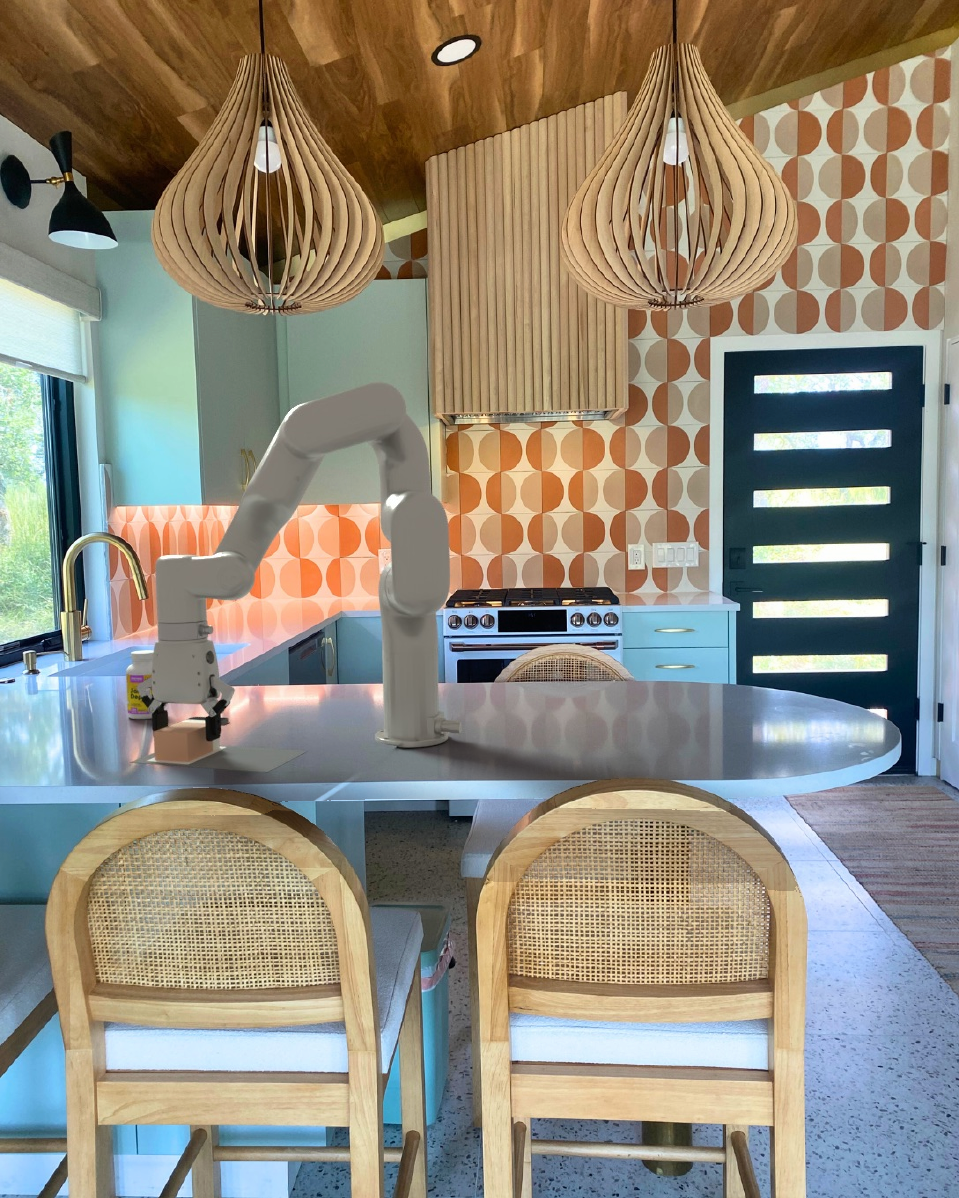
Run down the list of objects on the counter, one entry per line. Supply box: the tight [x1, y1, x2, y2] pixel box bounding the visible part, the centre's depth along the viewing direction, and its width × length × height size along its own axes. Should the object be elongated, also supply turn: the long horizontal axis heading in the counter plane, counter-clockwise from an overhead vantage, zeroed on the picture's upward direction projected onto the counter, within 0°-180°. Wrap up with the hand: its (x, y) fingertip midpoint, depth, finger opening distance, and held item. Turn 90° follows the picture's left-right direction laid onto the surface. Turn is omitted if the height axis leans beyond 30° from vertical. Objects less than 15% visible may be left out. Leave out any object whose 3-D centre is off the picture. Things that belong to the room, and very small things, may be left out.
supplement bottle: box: [125, 649, 154, 720], centre depth 180 cm, size 7×7×13 cm
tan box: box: [153, 718, 221, 762], centre depth 148 cm, size 9×6×4 cm, turn 164°
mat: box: [130, 744, 308, 774], centre depth 147 cm, size 24×13×1 cm, turn 74°
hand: (187, 737), depth 148 cm, fingers open, 9 cm apart
